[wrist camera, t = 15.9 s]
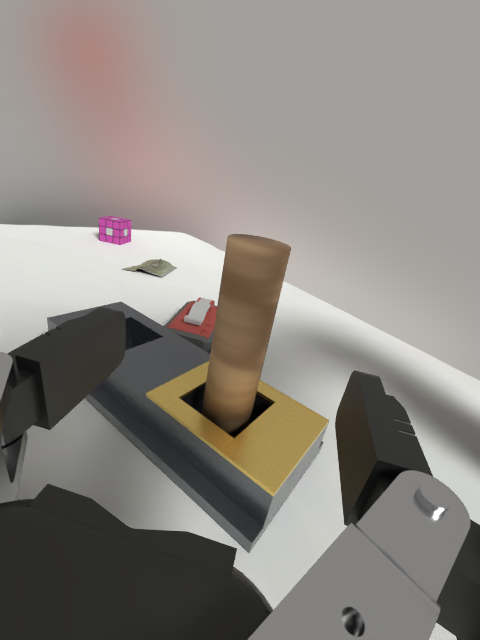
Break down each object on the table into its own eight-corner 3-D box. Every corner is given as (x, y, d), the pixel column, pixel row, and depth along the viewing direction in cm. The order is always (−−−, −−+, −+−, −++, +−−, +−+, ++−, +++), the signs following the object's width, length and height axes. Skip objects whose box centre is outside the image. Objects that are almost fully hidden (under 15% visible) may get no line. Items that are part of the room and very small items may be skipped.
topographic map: (183, 265, 73) (183, 258, 72) (162, 278, 61) (162, 270, 60) (129, 255, 74) (129, 248, 73) (98, 267, 62) (98, 259, 61)
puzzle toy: (131, 241, 83) (131, 220, 81) (119, 245, 78) (120, 222, 75) (111, 237, 83) (111, 216, 81) (99, 240, 78) (98, 217, 76)
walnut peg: (220, 407, 28) (251, 233, 22) (255, 431, 26) (301, 248, 20) (189, 430, 25) (214, 235, 18) (225, 459, 23) (269, 253, 17)
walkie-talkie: (221, 374, 36) (246, 311, 54) (227, 341, 34) (251, 288, 52) (150, 356, 36) (199, 300, 54) (152, 323, 35) (202, 276, 53)
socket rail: (129, 327, 41) (129, 297, 39) (320, 450, 27) (334, 413, 25) (38, 354, 32) (34, 318, 31) (249, 552, 19) (263, 508, 17)
